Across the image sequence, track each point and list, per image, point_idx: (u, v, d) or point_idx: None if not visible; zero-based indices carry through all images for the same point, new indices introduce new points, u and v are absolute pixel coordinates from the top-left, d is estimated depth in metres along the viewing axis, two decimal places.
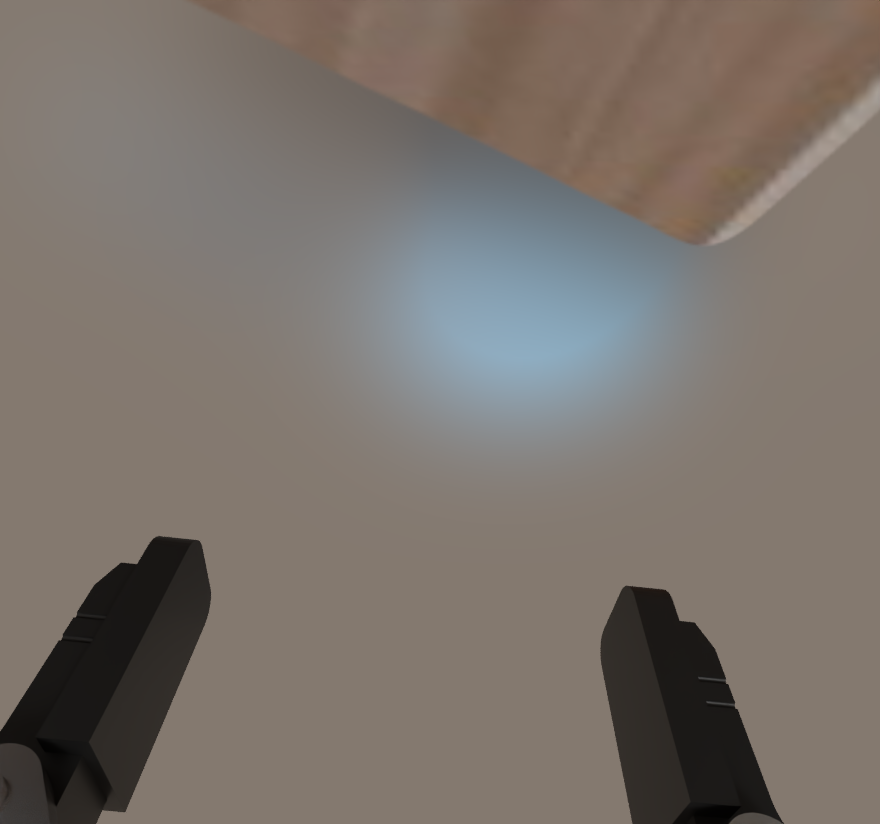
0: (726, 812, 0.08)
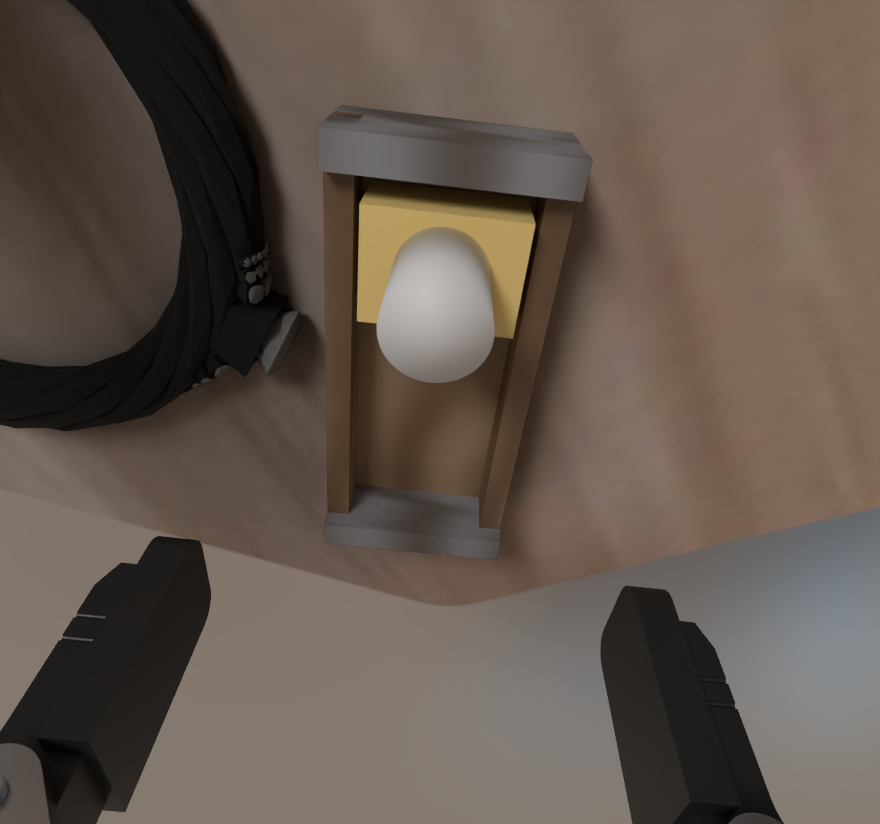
0: (726, 812, 0.08)
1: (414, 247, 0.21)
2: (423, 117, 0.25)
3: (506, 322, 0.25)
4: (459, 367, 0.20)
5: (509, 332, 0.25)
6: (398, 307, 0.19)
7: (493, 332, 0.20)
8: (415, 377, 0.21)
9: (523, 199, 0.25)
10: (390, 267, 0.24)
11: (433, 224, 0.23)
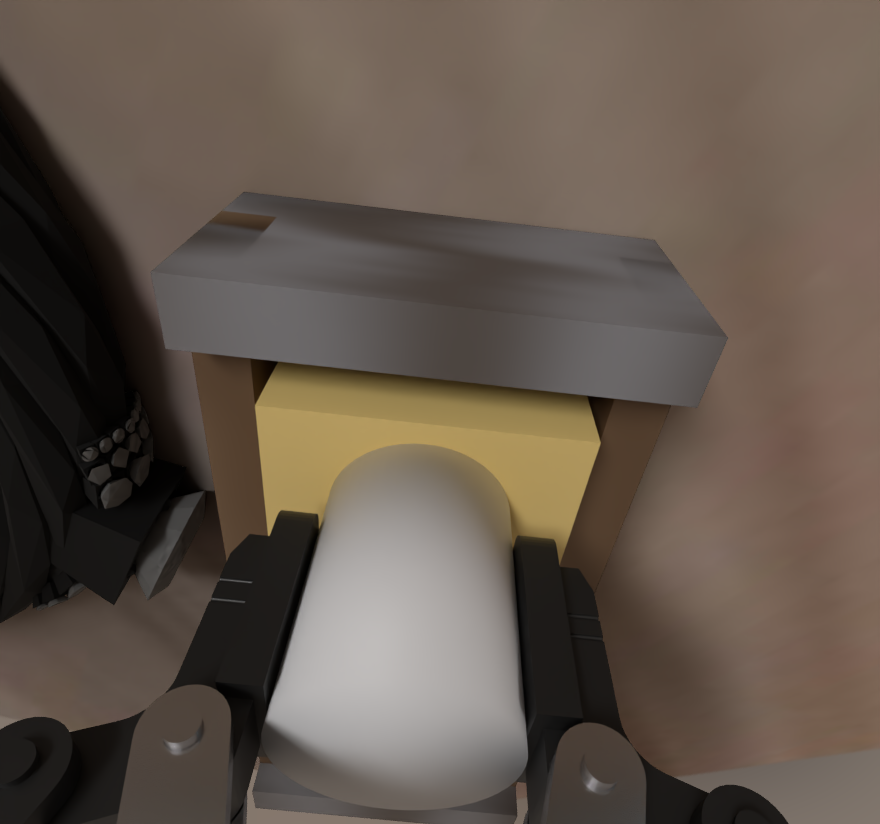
0: (572, 725, 0.09)
1: (359, 509, 0.11)
2: (388, 216, 0.14)
3: None
4: (449, 795, 0.10)
5: None
6: (306, 718, 0.08)
7: (525, 757, 0.09)
8: (356, 802, 0.10)
9: None
10: (324, 501, 0.13)
11: (400, 439, 0.12)
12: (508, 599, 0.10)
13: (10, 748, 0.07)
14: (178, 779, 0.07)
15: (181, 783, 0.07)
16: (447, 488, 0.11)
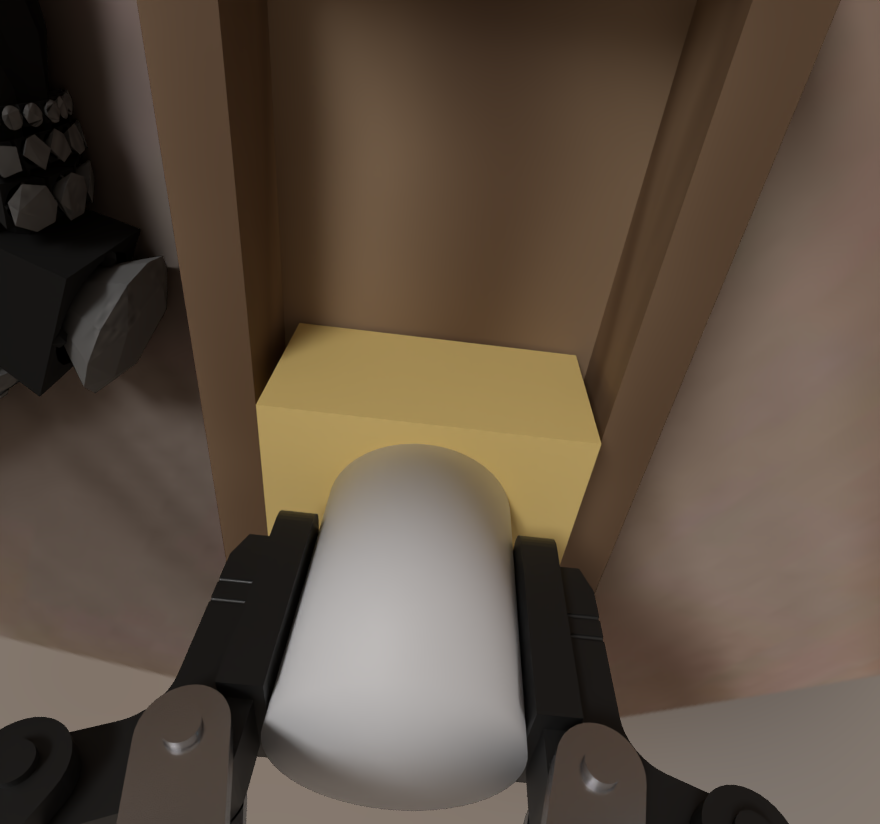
0: (572, 725, 0.09)
1: (360, 508, 0.11)
2: None
3: None
4: (448, 794, 0.10)
5: None
6: (305, 718, 0.08)
7: (525, 758, 0.09)
8: (355, 802, 0.10)
9: (568, 359, 0.14)
10: (324, 501, 0.13)
11: (401, 439, 0.12)
12: (508, 600, 0.10)
13: (9, 747, 0.07)
14: (177, 779, 0.07)
15: (181, 783, 0.07)
16: (448, 488, 0.11)
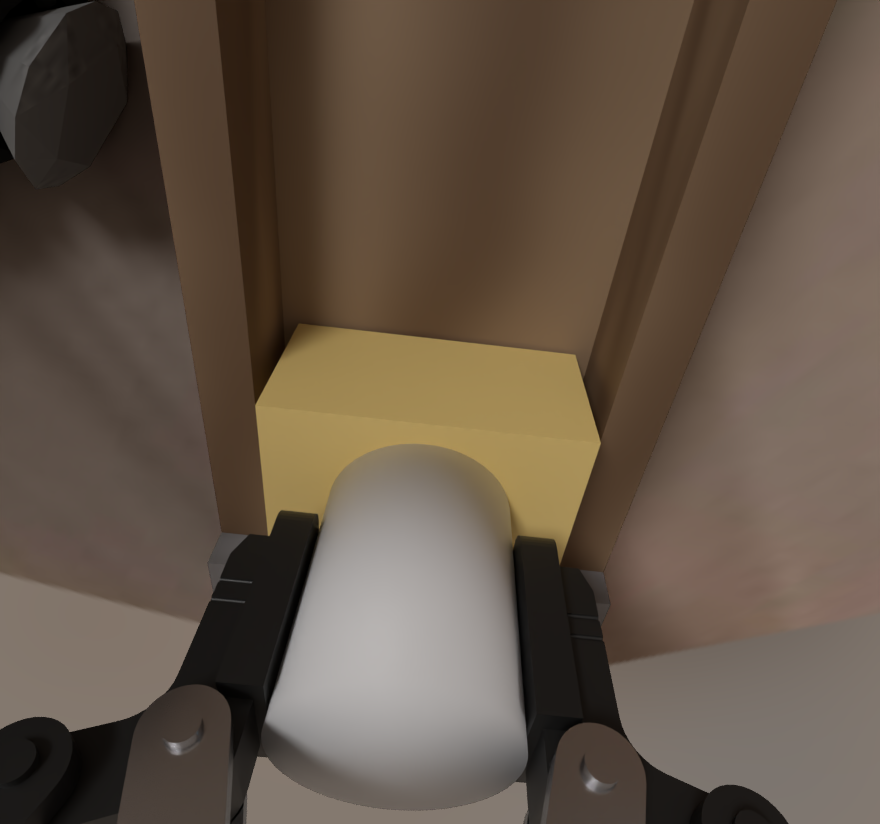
0: (571, 725, 0.09)
1: (359, 509, 0.11)
2: None
3: None
4: (449, 794, 0.10)
5: None
6: (306, 718, 0.08)
7: (525, 757, 0.09)
8: (356, 802, 0.10)
9: (567, 358, 0.14)
10: (324, 501, 0.13)
11: (400, 439, 0.12)
12: (508, 599, 0.10)
13: (11, 748, 0.07)
14: (178, 779, 0.07)
15: (181, 783, 0.07)
16: (447, 488, 0.11)
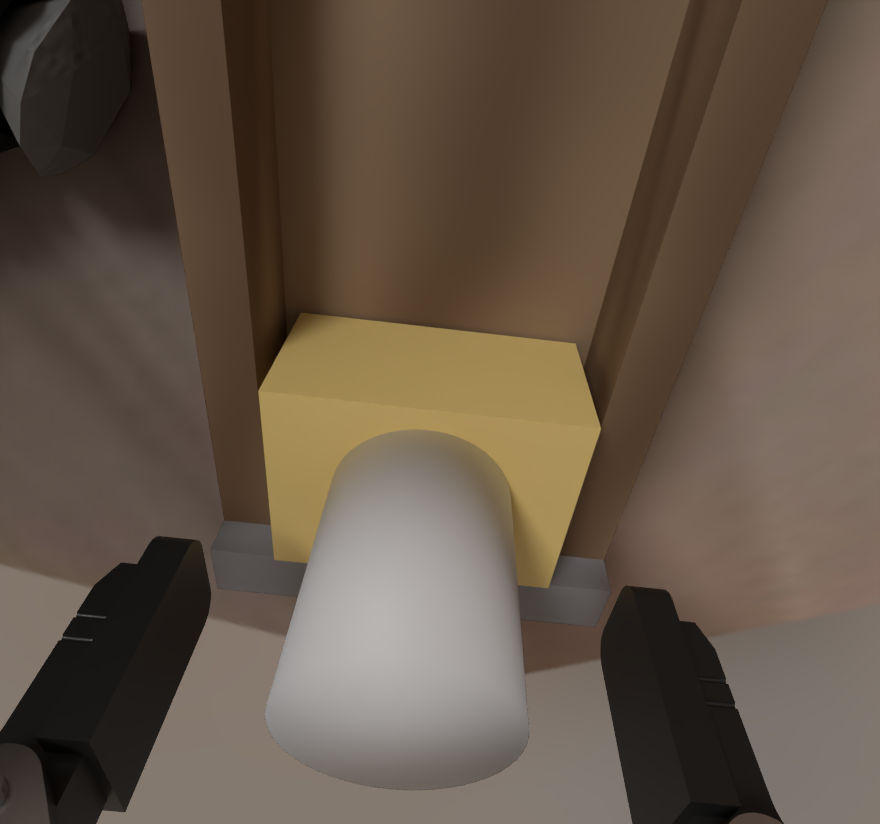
0: (726, 812, 0.08)
1: (361, 492, 0.11)
2: None
3: (538, 567, 0.14)
4: (450, 774, 0.10)
5: (542, 579, 0.14)
6: (309, 695, 0.08)
7: (526, 734, 0.09)
8: (359, 782, 0.10)
9: (568, 347, 0.14)
10: (326, 488, 0.13)
11: (403, 424, 0.12)
12: (509, 581, 0.10)
13: None
14: None
15: None
16: (449, 472, 0.11)
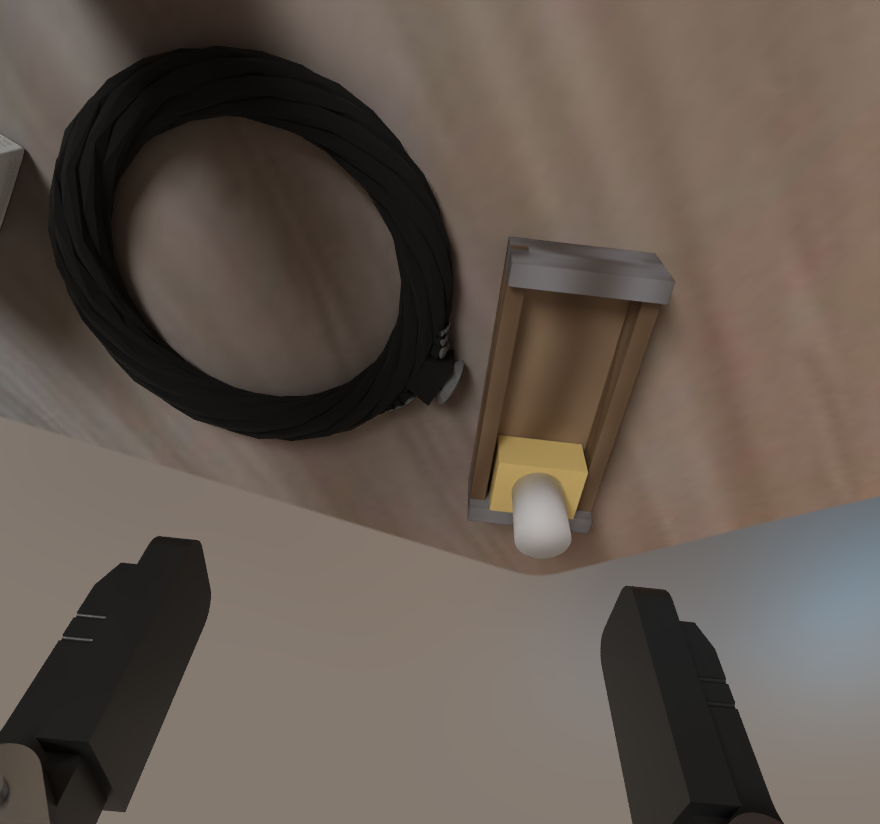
0: (726, 812, 0.08)
1: (528, 488, 0.43)
2: (561, 245, 0.39)
3: (570, 512, 0.47)
4: (552, 552, 0.42)
5: (571, 516, 0.47)
6: (526, 529, 0.41)
7: (570, 540, 0.41)
8: (530, 556, 0.43)
9: (579, 445, 0.47)
10: (511, 488, 0.46)
11: (535, 471, 0.44)
12: (565, 509, 0.43)
13: None
14: None
15: None
16: (549, 484, 0.44)
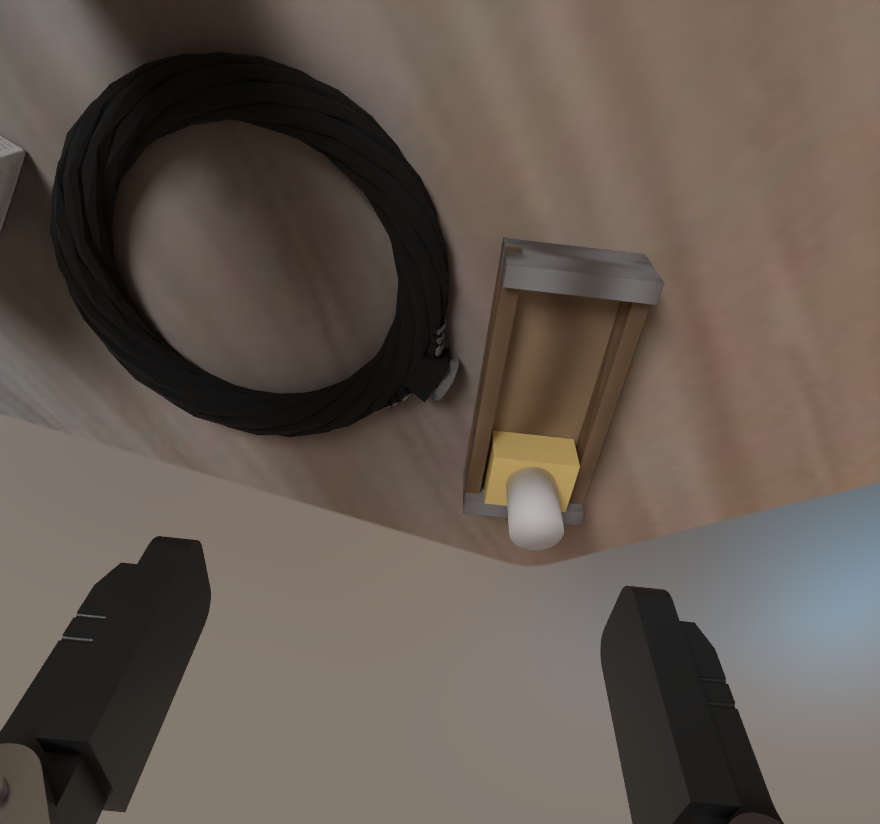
0: (726, 812, 0.08)
1: (522, 482, 0.45)
2: (554, 246, 0.40)
3: (562, 505, 0.48)
4: (546, 544, 0.44)
5: (563, 509, 0.48)
6: (521, 522, 0.42)
7: (563, 532, 0.43)
8: (524, 548, 0.44)
9: (571, 440, 0.48)
10: (505, 482, 0.47)
11: (529, 465, 0.46)
12: (558, 502, 0.44)
13: None
14: None
15: None
16: (542, 478, 0.45)
